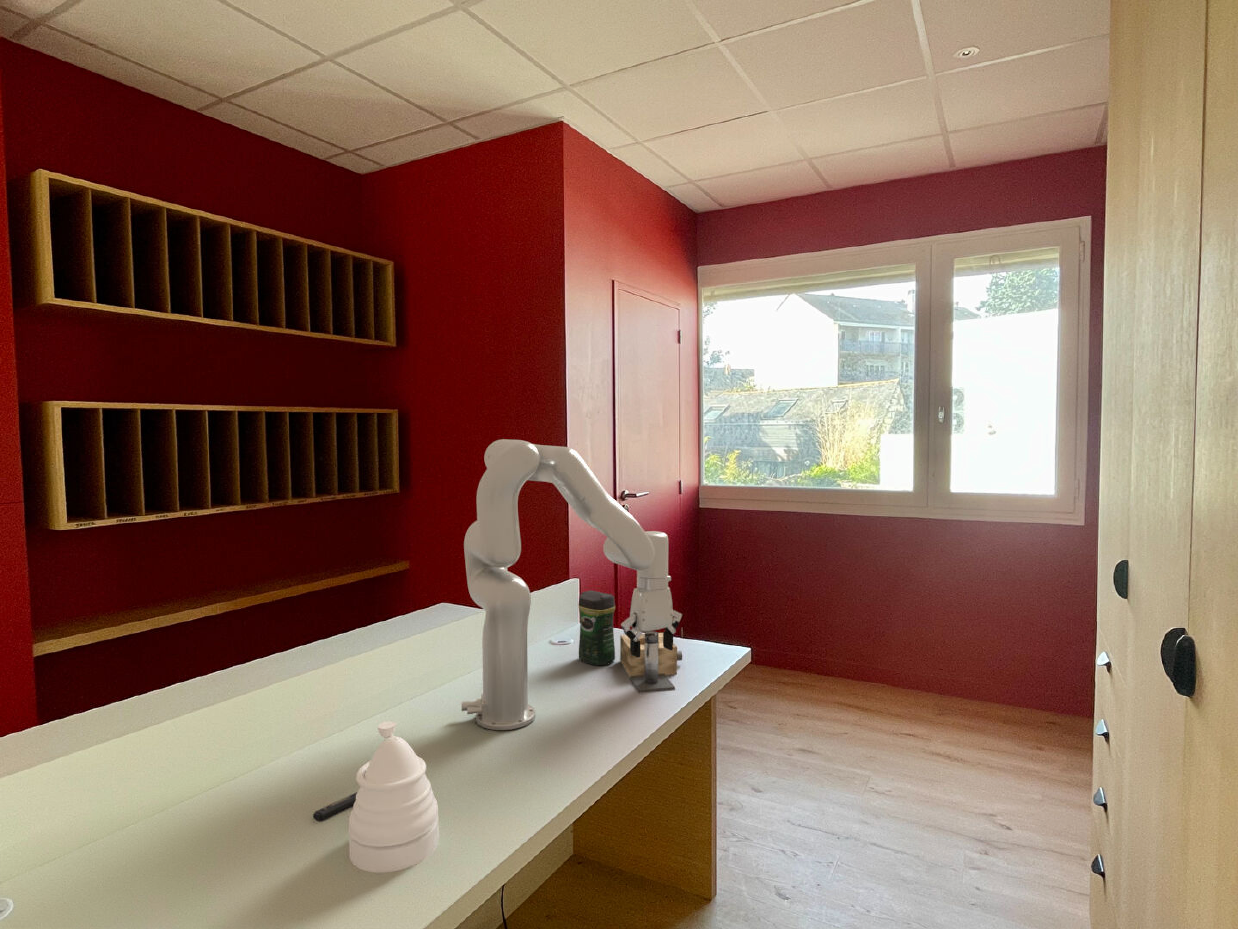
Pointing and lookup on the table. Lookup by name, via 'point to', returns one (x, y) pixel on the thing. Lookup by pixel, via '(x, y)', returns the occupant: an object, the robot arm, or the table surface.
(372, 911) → the table surface
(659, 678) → the mat
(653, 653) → the metal cylinder
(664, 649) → the block
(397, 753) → the honey pot
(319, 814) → the usb stick
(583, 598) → the coffee jar
